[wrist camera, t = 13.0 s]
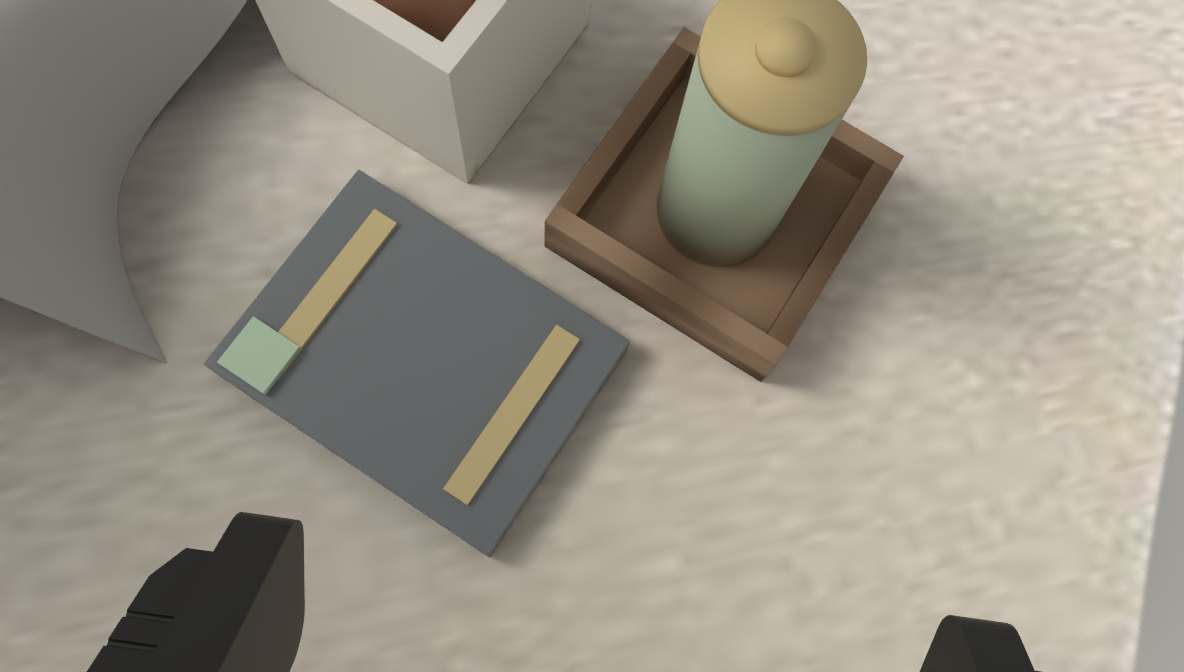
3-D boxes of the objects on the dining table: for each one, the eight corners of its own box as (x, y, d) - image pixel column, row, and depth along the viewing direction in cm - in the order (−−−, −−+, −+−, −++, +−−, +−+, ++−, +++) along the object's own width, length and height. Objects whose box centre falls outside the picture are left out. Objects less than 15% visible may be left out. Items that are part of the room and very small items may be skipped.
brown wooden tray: (544, 246, 38) (544, 221, 35) (675, 62, 40) (683, 27, 38) (761, 381, 36) (776, 365, 34) (881, 184, 39) (903, 156, 37)
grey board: (214, 372, 36) (199, 361, 34) (364, 182, 38) (356, 164, 36) (489, 557, 34) (486, 554, 33) (626, 349, 37) (630, 337, 35)
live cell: (633, 224, 37) (670, 62, 26) (696, 133, 38) (757, -59, 27) (737, 289, 37) (819, 151, 26) (798, 194, 38) (901, 24, 27)
